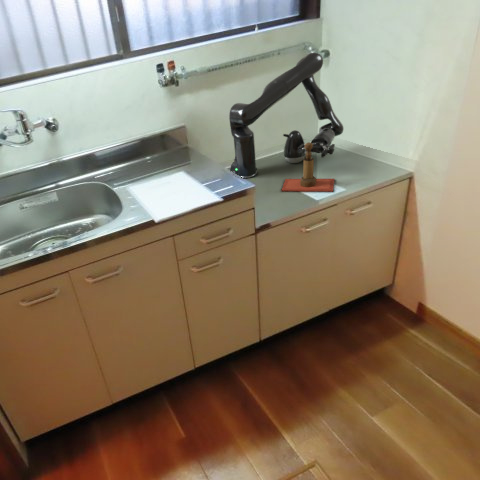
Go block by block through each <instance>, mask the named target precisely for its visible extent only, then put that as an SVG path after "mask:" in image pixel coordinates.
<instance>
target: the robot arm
mask: <svg viewBox="0 0 480 480" xmlns="http://www.w3.org/2000/svg"><path fill="white" fill-rule="evenodd" d="M323 65H324V58H323V56H322V54H320V53H319V52H309V53H307V54H306V55H304V56H303V57H302V58H300V59H299V60H298V61H297V62H296V64H295V66H293V67H291V68H289V69H288V70H286V71H284V72H283V73H281V74H280V75H278V76H276V77H275V78H274V79H272V80H271V81H270V82H268V83H267V84H266V85H265V86H264V88H263V90H262V93H261V95H260V96H259V97H258V98H257V99H255V100H254V101H252V102H249V103H245V102H244V103H243V102H236V103H234V104H232V106H231V107H230V110H229V114H228V115H229V116H228V117H229V118H228V119H229V127H230V133H231V136H232V138H233V147H234V149H233V150H234V157H233V162H232V163H231V164H230V168H229V170H230V172H231V171H232V172H234V175H235V174H237V175H239V176H241V177H242V178H241V179H250V178H253V177H255V176H257V171H258V168H257V162H256V161H257V160H256V144H255V132H254V131H253V130H252V129H251V128H250V127H249V126H251V125H252V124H254V123H256V122H257V121H258V119H260V117H262V115H264V114H265V113H266V112H267V111H268V110H269V109H271V108H273V106H275V105H276V104H277V103H279V102H280V101H281V100H284V98H285V97H286V96H288V95H289V94H291V92H293V91H294V90H295V89H296V88H297V87H298V86H299V85H301V84H302V85H303V87H304V90H305V91H306V93H307V94H308V96H309V98H310V100H311V102H312V106H313V108H314V111H315V114H316V115H317V116H316V117H317V119H318V120H319V121H324V120H329V123H326V124H323V125H322V126H320V127H319V129H318V133H317V134H316V135H315V136H314V137H313V139H311V141H310V143H312V145H313V147H312V149H311V151H310V152H311V153H312V154H313V153H316V154H320V155H321V156H320V158H324V157H326V156H328V155H333V154H334V152H335V150H336V149H335V147H336V144H335V143H333V141H334V140H335V138H336V137H338V136H341V135H342V134H343V132H344V124H343V123H342V121H341V120H340V119H339V118H338V116H337V115H336V113H335V111H334V109H333V106H332V104H331V101H330V98H329V97H328V96H327V94H326V93H325V92H324V91H323V90H322V89H321V88H320V87H319V86H318V84H317V81H316V80H315V76H314V75H316V74H318V73H319V72H320V71H321V70H322V68H323ZM304 143H305V142H304ZM304 143H303V144H301V145H300V146H299V147H298V153H299V155H300V157H303V155H304V154H306V153H307V151H305V144H306V143H305V144H304Z"/></svg>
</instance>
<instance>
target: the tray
mask: <svg viewBox="0 0 480 480" xmlns="http://www.w3.org/2000/svg"><path fill="white" fill-rule="evenodd" d="M300 179H301V178H285V180H284V182H283V185H282V188H281V192H288V193H291V192H292V193H293V192H294V193H295V192H297V193H301V192H302V193H333V192H334V188H335V187H334V186H335V178H316V185H315V186H312V187H303V186H301V185H300Z"/></svg>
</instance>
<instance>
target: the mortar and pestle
mask: <svg viewBox="0 0 480 480" xmlns="http://www.w3.org/2000/svg"><path fill="white" fill-rule="evenodd" d="M312 147H313V145H312V143H311V141H309V142H305V149H306V151H307V153H306V155H305V157H304V159H303V167H302V168H303V172H302V173H303V174H302V175H303V176H301V178H299V179H300V185H301V186H303V187H312V186H315V185H316V179H317V177H315V176H314V166H315V165H314V162H315V160H314V159H315V158H313V157H312V154H313V152H312V153H311V152H310V151H311V149H312Z"/></svg>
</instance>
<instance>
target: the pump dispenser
mask: <svg viewBox="0 0 480 480" xmlns="http://www.w3.org/2000/svg"><path fill="white" fill-rule="evenodd" d="M282 136H283V137H284V138H286V140H285V143H284V146H283V157H284V159H285V161H286V162H287V163H290V164H299V163H301V162H302V161H304V158H306V154H304V155H303V157H300V155H299V153H298V147H299V146H300V145H301V144H303V143H304V144H306V142H305V140H304V138H303V135H302V133H301V132H300V131H299V130H297V129H295V130H292V131H290V132H289V134H288V133H283V134H282ZM305 151H306V149H305Z"/></svg>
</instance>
